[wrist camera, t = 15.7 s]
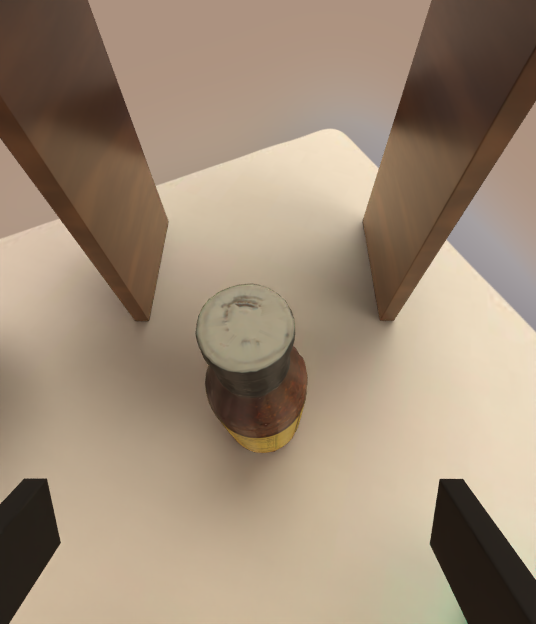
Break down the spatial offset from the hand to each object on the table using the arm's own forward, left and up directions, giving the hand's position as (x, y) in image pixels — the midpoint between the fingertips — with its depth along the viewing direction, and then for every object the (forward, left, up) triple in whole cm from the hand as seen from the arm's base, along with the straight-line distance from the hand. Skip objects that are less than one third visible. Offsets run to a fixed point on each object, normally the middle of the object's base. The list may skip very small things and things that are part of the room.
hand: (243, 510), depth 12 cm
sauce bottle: (-2, +7, -19) cm, 20 cm away
